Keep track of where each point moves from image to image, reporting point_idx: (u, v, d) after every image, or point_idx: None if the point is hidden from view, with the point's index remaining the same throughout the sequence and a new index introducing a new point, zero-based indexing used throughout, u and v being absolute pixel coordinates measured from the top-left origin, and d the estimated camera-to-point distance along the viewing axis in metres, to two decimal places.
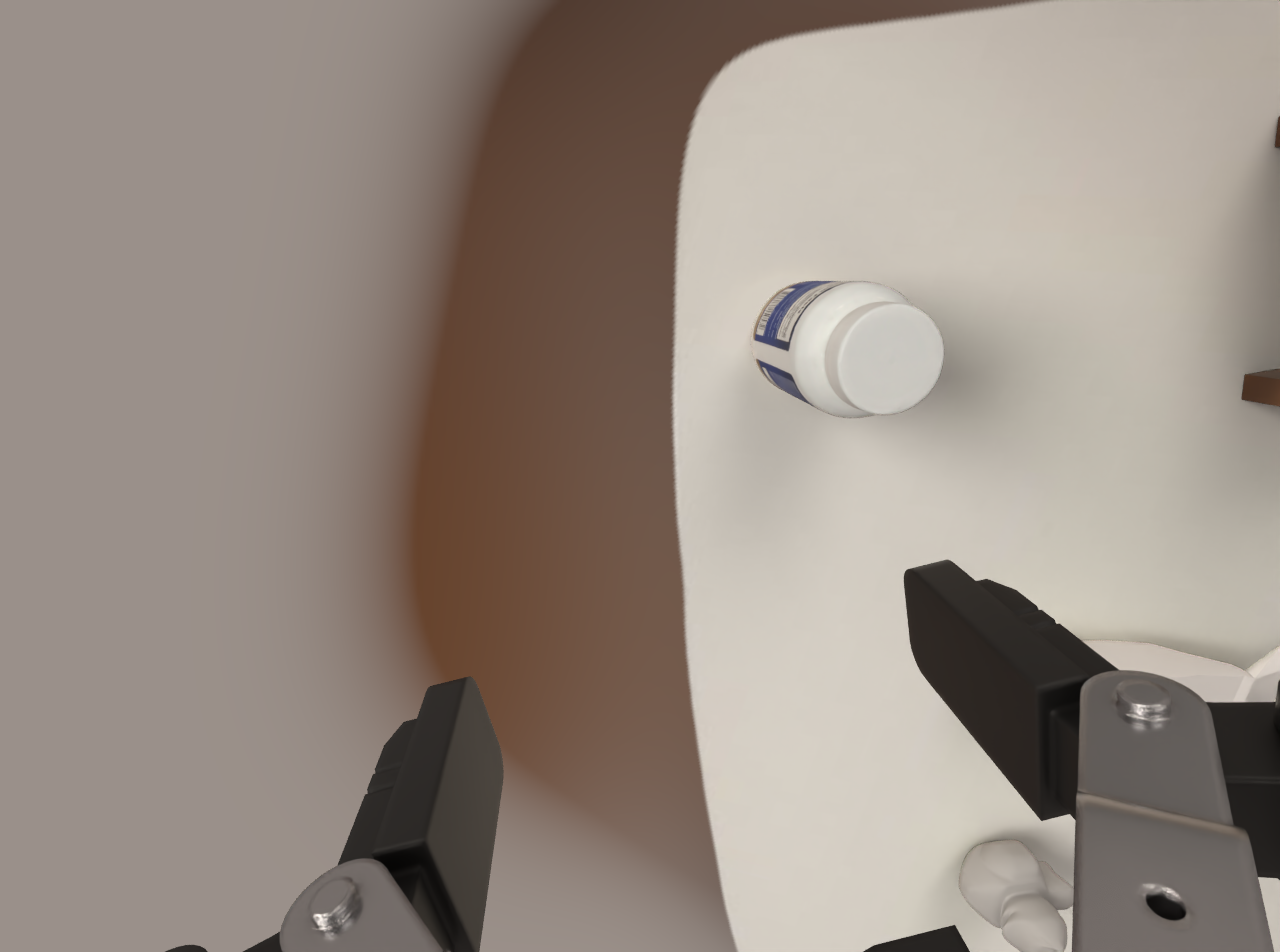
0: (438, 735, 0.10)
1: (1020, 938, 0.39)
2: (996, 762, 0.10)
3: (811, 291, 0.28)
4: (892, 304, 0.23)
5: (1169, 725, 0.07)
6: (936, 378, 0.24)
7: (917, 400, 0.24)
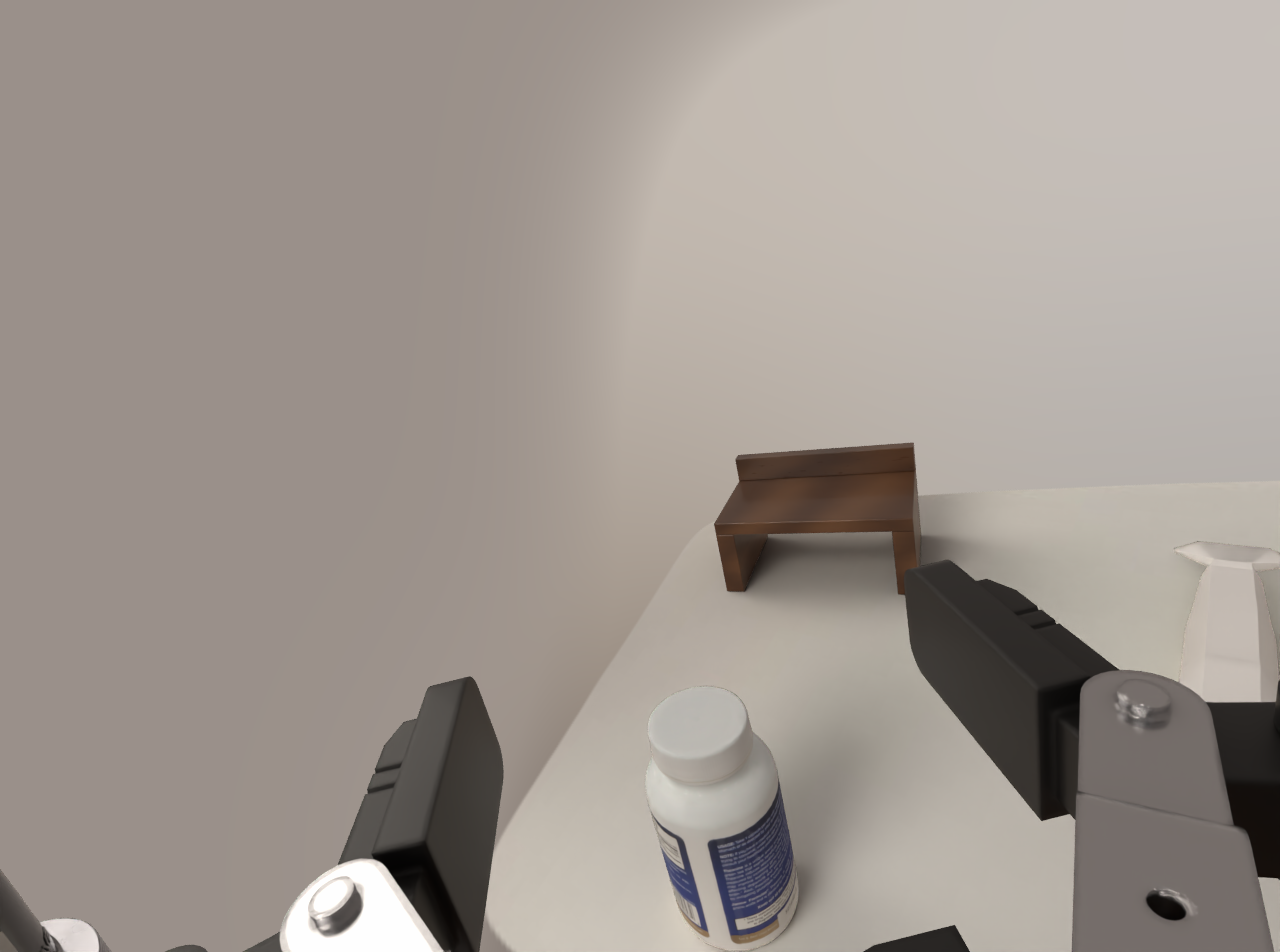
0: (438, 735, 0.10)
1: None
2: (996, 762, 0.10)
3: None
4: (652, 714, 0.27)
5: (1169, 725, 0.07)
6: (729, 692, 0.27)
7: (741, 706, 0.26)
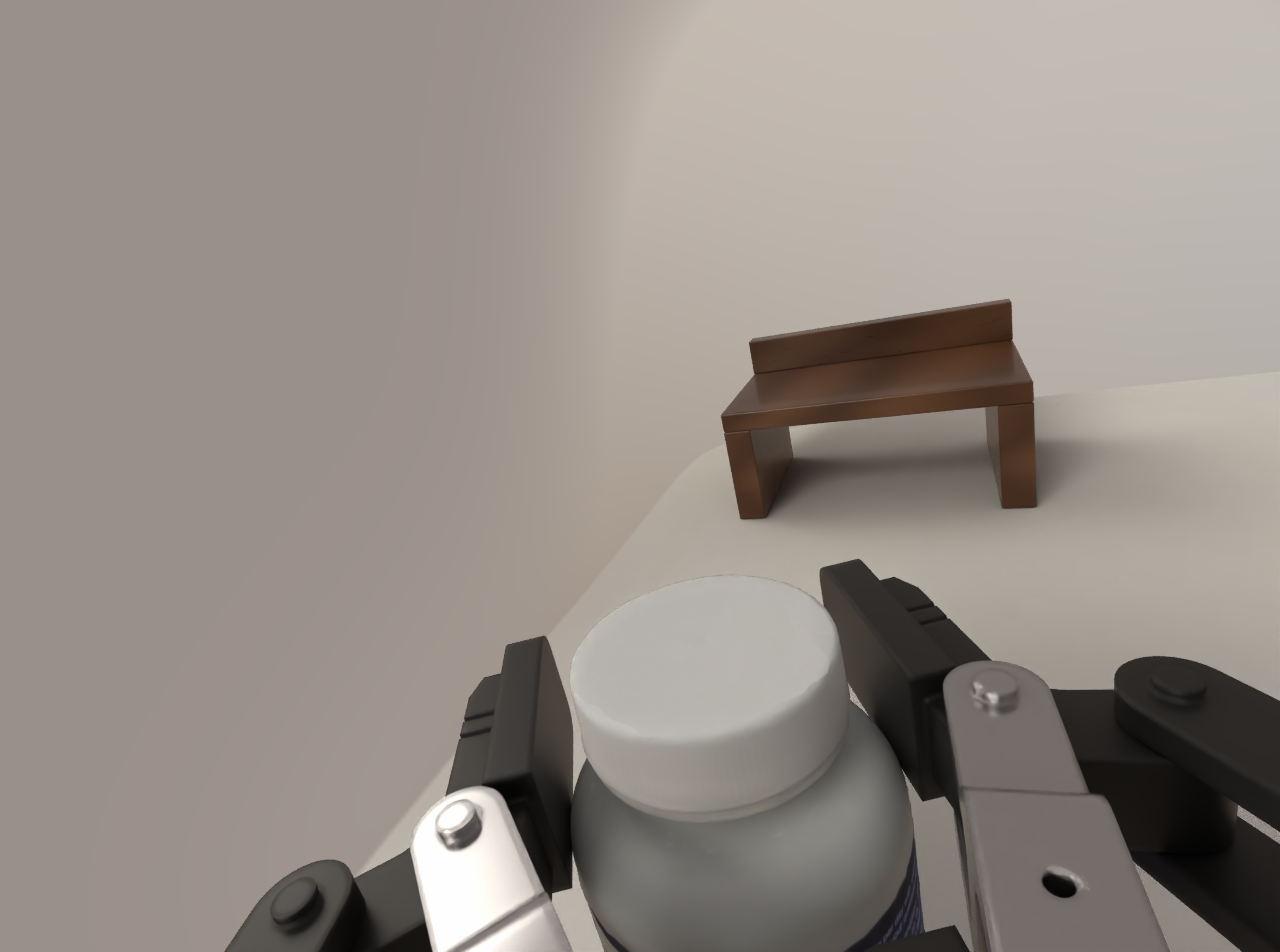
0: (525, 685, 0.11)
1: None
2: None
3: None
4: None
5: (1013, 710, 0.08)
6: (780, 583, 0.11)
7: (816, 608, 0.10)
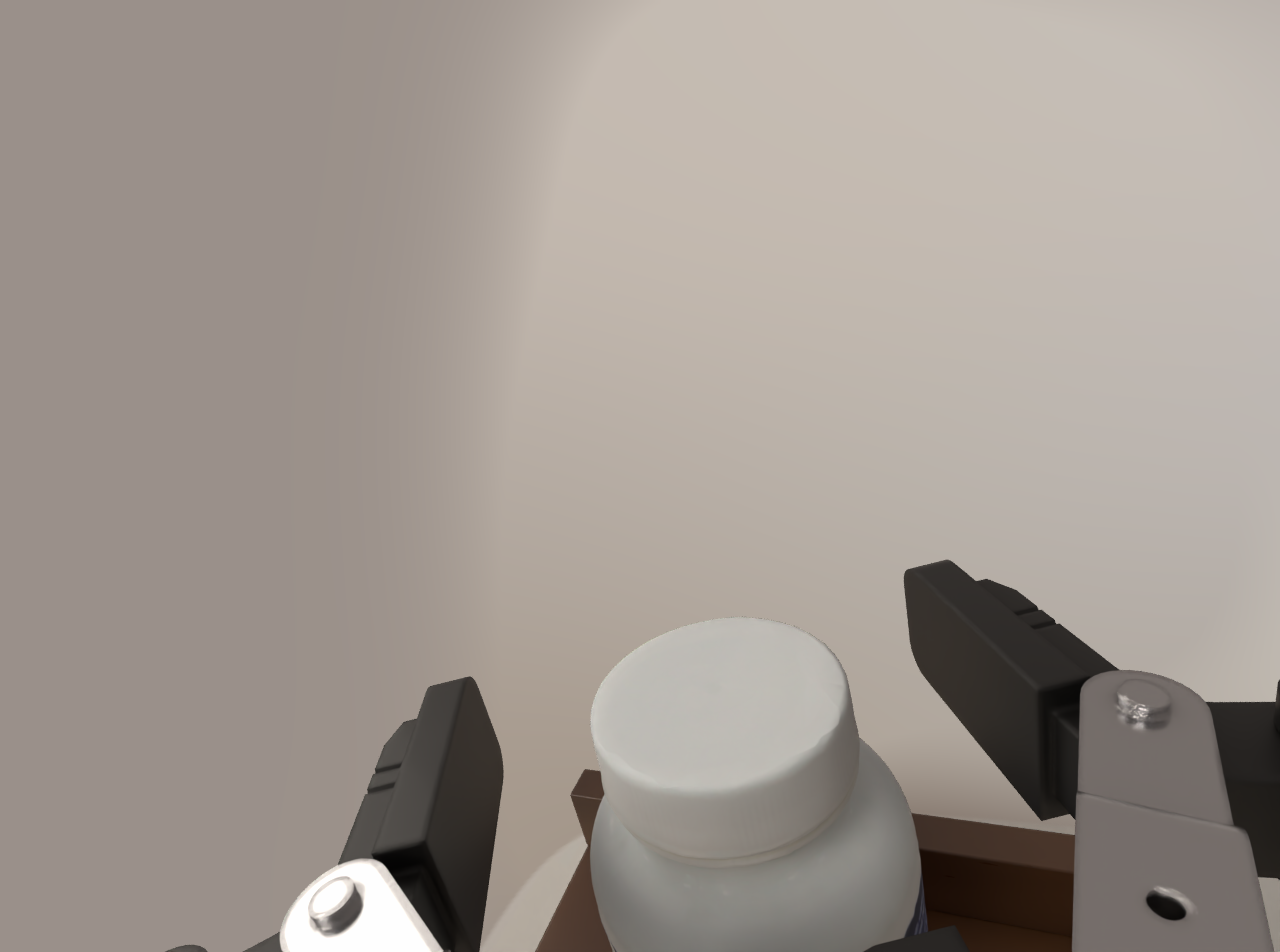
0: (438, 735, 0.10)
1: None
2: (996, 762, 0.10)
3: None
4: None
5: (1169, 725, 0.07)
6: (791, 627, 0.11)
7: (826, 655, 0.10)
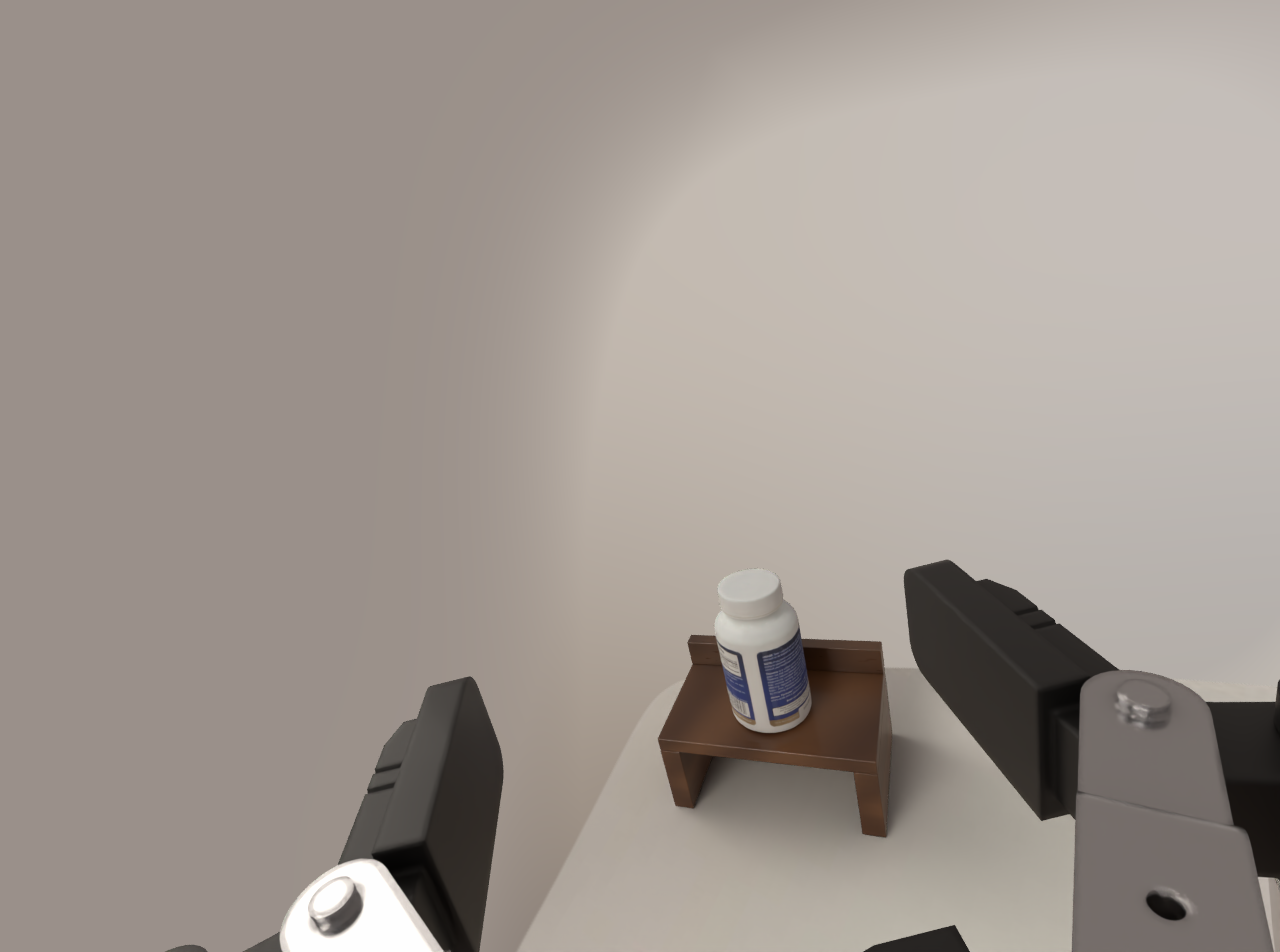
0: (438, 735, 0.10)
1: None
2: (996, 762, 0.10)
3: (720, 655, 0.44)
4: (719, 584, 0.43)
5: (1169, 725, 0.07)
6: (767, 570, 0.43)
7: (775, 576, 0.42)
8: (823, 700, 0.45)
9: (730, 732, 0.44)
